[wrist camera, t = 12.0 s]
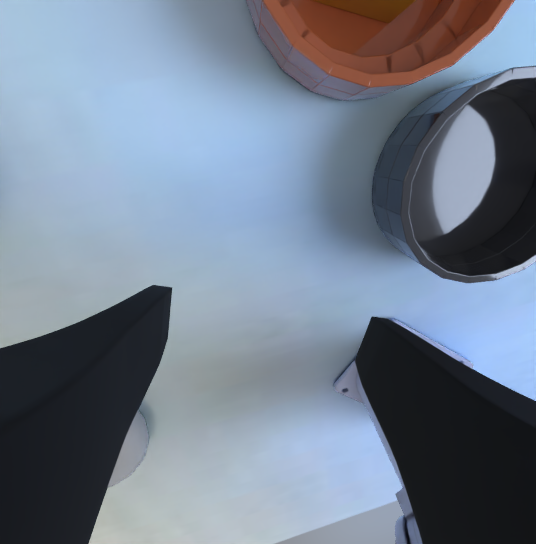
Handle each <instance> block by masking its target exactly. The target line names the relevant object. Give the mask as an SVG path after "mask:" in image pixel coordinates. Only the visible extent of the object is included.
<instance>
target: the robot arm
mask: <svg viewBox="0 0 536 544" xmlns="http://www.w3.org/2000/svg"><path fill="white" fill-rule="evenodd" d="M171 295H172V288H171V287H164V286H157V285H152V286H150V287H148V288H146V289H144V290H142V291H140V292H139V293H137V294H135V295H133V296H131V297H130V298H128V299H126V300H124V301H122V302H120V303H118V304H116V305H114V306H112V307H110V308H108V309H106V310H104V311H102V312H100V313H98V314H95V315H93V316H91V317H89V318H87V319H85V320H83V321H80V322H78V323H75V324H73V325H70V326H68V327H65V328H63V329H60V330H57V331H54V332H52V333H49V334H46V335H43V336H40V337H37V338H34V339H31V340H27V341H24V342H21V343H17V344H14V345H11V346H7V347H4V348H1V349H0V544H88V543H89V540H90V537H91V534H92V531H93V528H94V525H95V522H96V519H97V516H98V513H99V511H100V508H101V505H102V502H103V499H104V496H105V493H106V490H107V487H108V485H109V482H110V479H111V476H112V473H113V470H114V468H115V465H116V462H117V459H118V456H119V454H120V451H121V448H122V445H123V443H124V440H125V438H126V435H127V433H128V430H129V428H130V426H131V424H132V421H133V419H134V417H135V415H136V413H137V411H138V409H139V407H140V405H141V402H142V400H143V398H144V396H145V394H146V392H147V390H148V388H149V386H150V383H151V381H152V379H153V377H154V375H155V373H156V371H157V368H158V366H159V364H160V361H161V358H162V355H163V352H164V349H165V345H166V342H167V339H168V329H169V318H170V306H171ZM344 388H346V389H344ZM334 389H335V391H336V392H338V393H341V394H343V395H345V396H347V397H350V398H352V399H354V400H356V401H359V402H361V403H363V404H364V405H365V407H366V409H367V411H368V413H369V415H370V418H371V420H372V422H373V424H374V426H375V428H376V431H377V433H378V435H379V437H380V439H381V441H382V444H383V446H384V448H385V450H386V452H387V454H388V457H389V459H390V461H391V463H392V465H393V467H394V470H395V472H396V474H397V476H398V478H399V480H400V483H401V485H402V487H403V488H402V489H401V490H400V491H399V492H397V493H396V497H397V499H398V502H399V504H400V506H401V509H402V511H403V513H404V515H403V516H401V517H399V518H398V520H397V521H396V525H395V537H396V540H395V542H396V543H395V544H536V401H534V400H532V399H530V398H528V397H526V396H524V395H521V394H519V393H517V392H515V391H513V390H511V389H509V388H507V387H505V386H503V385H501V384H499V383H497V382H495V381H494V380H492V379H490V378H488V377H486V376H484V375H482V374H480V373H479V372H477V371H475V370H473V364H472V363H471V362H470V361H469V360H467V359H465V358H464V357H462V356H460V355H458V354H457V353H455V352H453V351H451V350H449V349H448V348H446V347H444V346H442V345H441V344H439V343H437V342H435V341H433V340H432V339H430V338H428V337H426V336H425V335H423V334H421V333H419V332H417V331H416V330H414V329H412V328H410V327H409V326H407V325H405V324H403V323H401V322H400V321H398V320H396V319H391V320H389V319H385V318H378V317H372V318H371V320H370V323H369V325H368V328H367V331H366V333H365V336H364V338H363V341H362V344H361V346H360V349H359V351H358V354H357V356H356V359H355V360H354V361H353V362H352V364H351V365H350V366H349V367H348V368H347V369H346V371H345V372H344V373H343V374H342V375H341V376H340V378H339V379H338V380H337V381H336V382H335V384H334Z"/></svg>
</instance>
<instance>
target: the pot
mask: <svg viewBox="0 0 536 544" xmlns="http://www.w3.org/2000/svg"><path fill="white" fill-rule="evenodd" d="M372 202H373V208H374V214H375V217H376V220H377V223H378V225H379V227H380V229H381V231H382V232H383V234H384V235H385V237H386V238H387V239H388V240H389V241H390V242H391V244H392V245H393V246H394V247H395V248H397V249H398V250H400V251H401V252H403V253H404V254H406V255H407V256H409V257H410V258H412V259H413V260H415V261H416V262H418V263H419V264H421V265H422V266H424V267H426V268H427V269H429V270H430V271H432V272H433V273H435V274H436V275H438V276H439V277H441V278H444V279H449V280H454V281H459V282H463V283H475V282H485V281H494V280H498V279H500V278H503V277H506V276H508V275H511V274H513V273H516V272H519V271H521V270H523V269H526V268H527V267H529V266H530V265H532V264H533V263H535V262H536V66H528V67H515V68H510V69H507V70H503V71H500V72H497V73H493V74H490V75H487V76H484V77H480V78H477V79H473V80H470V81H467V82H463V83H460V84H458V85H456V86H454V87H451V88H448V89H445V90H443V91H441V92H439V93H437V94H435V95H433V96H431V97H429V98H428V99H426V100H425V101H423V102H422V103H420V104H419V105H418V106H417V107H416V108H414V109H413V110H412V111H411V112H410V113H409V114H408V115H407V116H406V117H405V118H404V119H403V120H402V121H401V122H400V124H399V125H398V126H397V127H396V129H395V130H394V131H393V133H392V134H391V136H390V138H389V139H388V141H387V142H386V144H385V146H384V148H383V150H382V153H381V155H380V157H379V160H378V163H377V166H376V169H375V174H374V179H373V188H372Z"/></svg>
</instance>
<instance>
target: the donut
mask: <svg viewBox="0 0 536 544" xmlns="http://www.w3.org/2000/svg"><path fill="white" fill-rule="evenodd" d="M148 441H149V434H148V430H147V425H146V421H145V419H144V417H143V416H142V415H141V413H140V412H139V410H138V411H137V413H136V415H135V417H134V419H133V421H132V424H131V426H130V428H129V430H128V433H127V435H126V438H125V440H124V443H123V445H122V448H121V451H120V454H119V456H118V459H117V462H116V465H115V468H114V470H113V473H112V476H111V479H110V482H109V485H108V487H111V486H113V485H115V484H117V483H119V482H121V481H122V480H124V479H125V478H127V477H129V476H130V475H131V474H132V473H133V472H134V471H135V469H136V468H137V467H138V466H139V465H140V463H141V462H142V461H143V459H144V457H145V454H146V450H147V446H148Z"/></svg>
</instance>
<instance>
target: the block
mask: <svg viewBox="0 0 536 544" xmlns="http://www.w3.org/2000/svg"><path fill="white" fill-rule="evenodd" d="M312 1H315V2H319V3H322V4H326V5H329V6H332V7H336V8H339V9H342V10H346V11H349V12H352V13H356V14H359V15H362V16H366V17H369V18H372V19H376V20H379V21H383V22H386V23H390V22H391V21H393V20H394V19H395V18H396V17H397V16H398V15H399V14H401V13H402V12H403V11H404V10H405V9H406V8H408V7H409V6H410V5H411V4H412V3H413V2H415V1H416V0H312Z"/></svg>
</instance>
